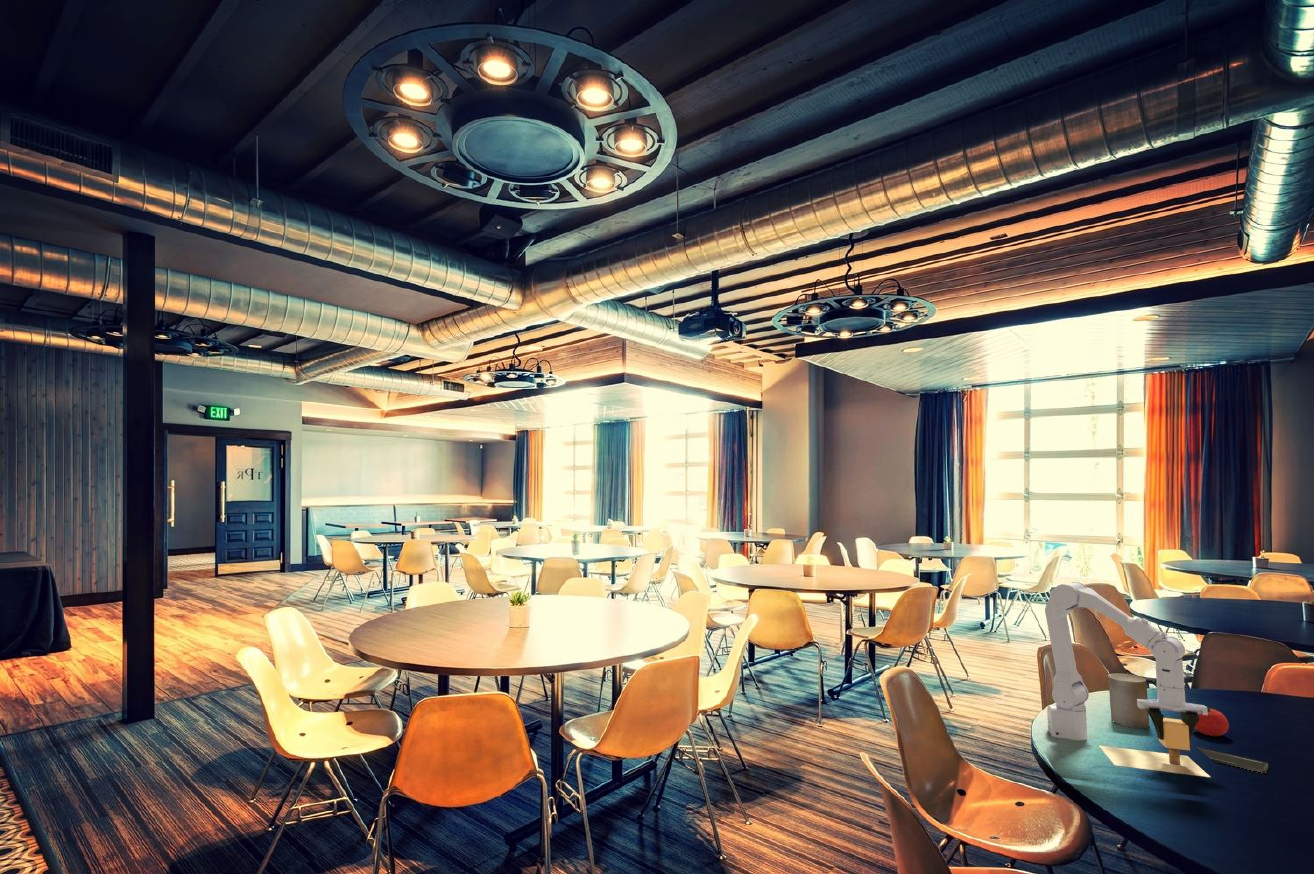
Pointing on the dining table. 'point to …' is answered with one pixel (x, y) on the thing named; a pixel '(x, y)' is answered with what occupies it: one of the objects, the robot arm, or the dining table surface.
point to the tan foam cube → (1175, 734)
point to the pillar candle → (1128, 700)
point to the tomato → (1212, 723)
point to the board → (1154, 760)
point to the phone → (1235, 760)
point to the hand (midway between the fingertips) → (1173, 739)
